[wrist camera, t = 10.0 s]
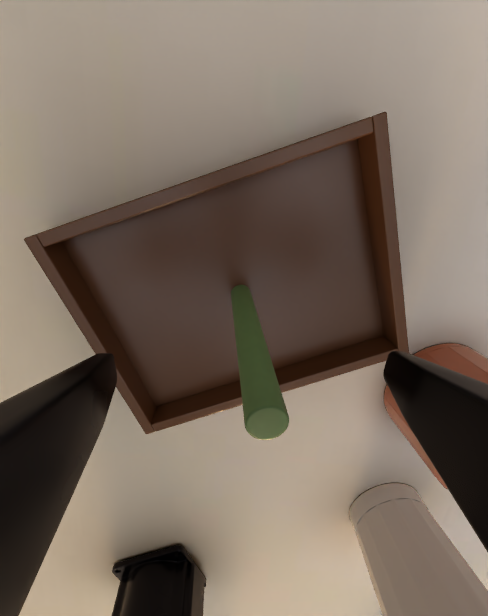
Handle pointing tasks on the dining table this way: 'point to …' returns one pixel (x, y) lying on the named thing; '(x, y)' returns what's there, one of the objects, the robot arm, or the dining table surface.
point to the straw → (256, 371)
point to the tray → (240, 274)
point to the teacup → (448, 357)
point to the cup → (413, 557)
